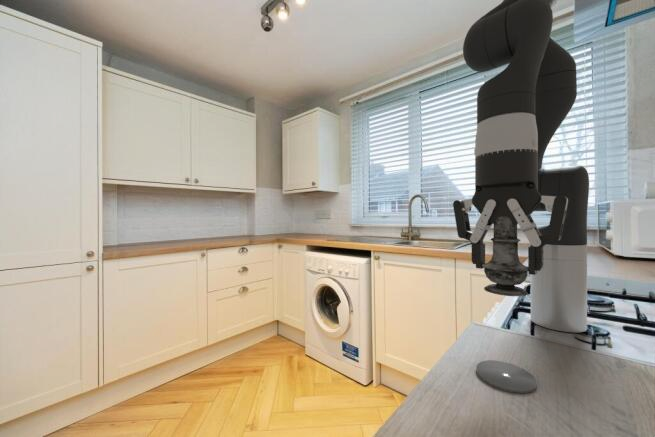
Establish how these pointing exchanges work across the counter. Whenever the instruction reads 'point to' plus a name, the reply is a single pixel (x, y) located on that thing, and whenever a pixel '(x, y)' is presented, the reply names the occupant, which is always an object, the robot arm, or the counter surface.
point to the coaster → (506, 376)
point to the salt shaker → (505, 261)
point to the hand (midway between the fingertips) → (505, 270)
